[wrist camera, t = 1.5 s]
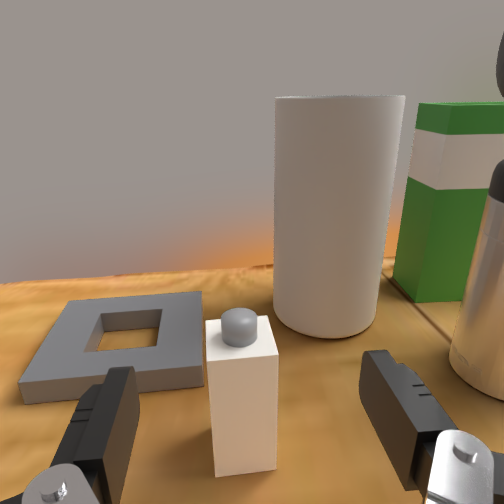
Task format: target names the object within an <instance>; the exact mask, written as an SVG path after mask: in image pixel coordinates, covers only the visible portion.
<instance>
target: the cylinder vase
mask: <svg viewBox="0 0 504 504" xmlns="http://www.w3.org/2000/svg"><path fill="white" fill-rule="evenodd" d="M404 103H405V96H387V95H385V96H383V95H380V96H378V95H376V96H375V95H370V96H369V95H366V96H364V95H361V96H299V97H298V96H294V97H276V98H275V174H274V176H275V177H274V271H273V308H274V311H275V313H276V315H277V317H278V318H279V319H280V321H281V322H282V323H284V324H285V325H286V326H288V327H289V328H291V329H293V330H295V331H297V332H299V333H302V334H305V335H308V336H312V337H318V338H343V337H349V336H352V335H355V334H358V333H360V332H362V331H364V330H365V329H366V328H368V327H369V326H370V325H371V323H372V322H373V320H374V318H375V313H376V306H377V299H378V292H379V284H380V277H381V270H382V263H383V255H384V248H385V241H386V234H387V226H388V219H389V212H390V205H391V197H392V190H393V183H394V176H395V169H396V161H397V154H398V147H399V139H400V132H401V125H402V118H403V110H404Z"/></svg>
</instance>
